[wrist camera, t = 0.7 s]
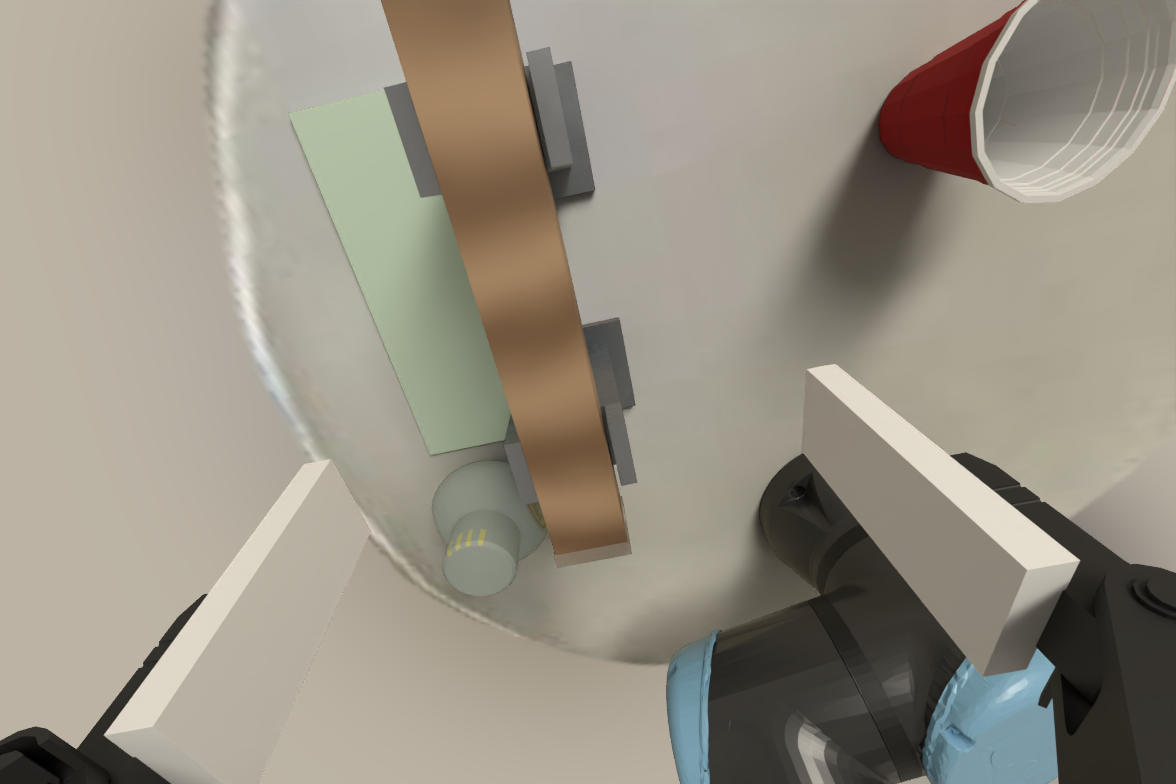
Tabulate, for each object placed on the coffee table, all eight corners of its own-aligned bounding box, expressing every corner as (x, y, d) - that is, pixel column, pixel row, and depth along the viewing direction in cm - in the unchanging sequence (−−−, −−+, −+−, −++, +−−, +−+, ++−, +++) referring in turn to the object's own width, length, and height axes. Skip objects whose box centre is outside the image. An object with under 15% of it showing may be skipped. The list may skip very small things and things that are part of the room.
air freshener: (431, 464, 45) (396, 537, 35) (511, 435, 44) (496, 504, 35) (482, 546, 49) (463, 630, 40) (556, 522, 48) (553, 602, 39)
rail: (623, 505, 32) (631, 553, 28) (558, 517, 33) (557, 567, 28) (505, -26, 20) (489, -79, 16) (404, 0, 21) (362, -45, 16)
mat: (524, 433, 43) (524, 436, 43) (431, 452, 44) (430, 455, 44) (416, 83, 32) (415, 82, 32) (291, 114, 32) (288, 113, 32)
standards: (634, 401, 43) (663, 501, 29) (527, 423, 43) (509, 531, 30) (571, 63, 32) (573, -16, 19) (428, 98, 32) (333, 45, 19)
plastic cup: (987, 177, 36) (1170, 178, 25) (844, 210, 36) (962, 225, 25) (1009, 2, 31) (1245, -90, 20) (846, 43, 32) (990, -25, 21)
